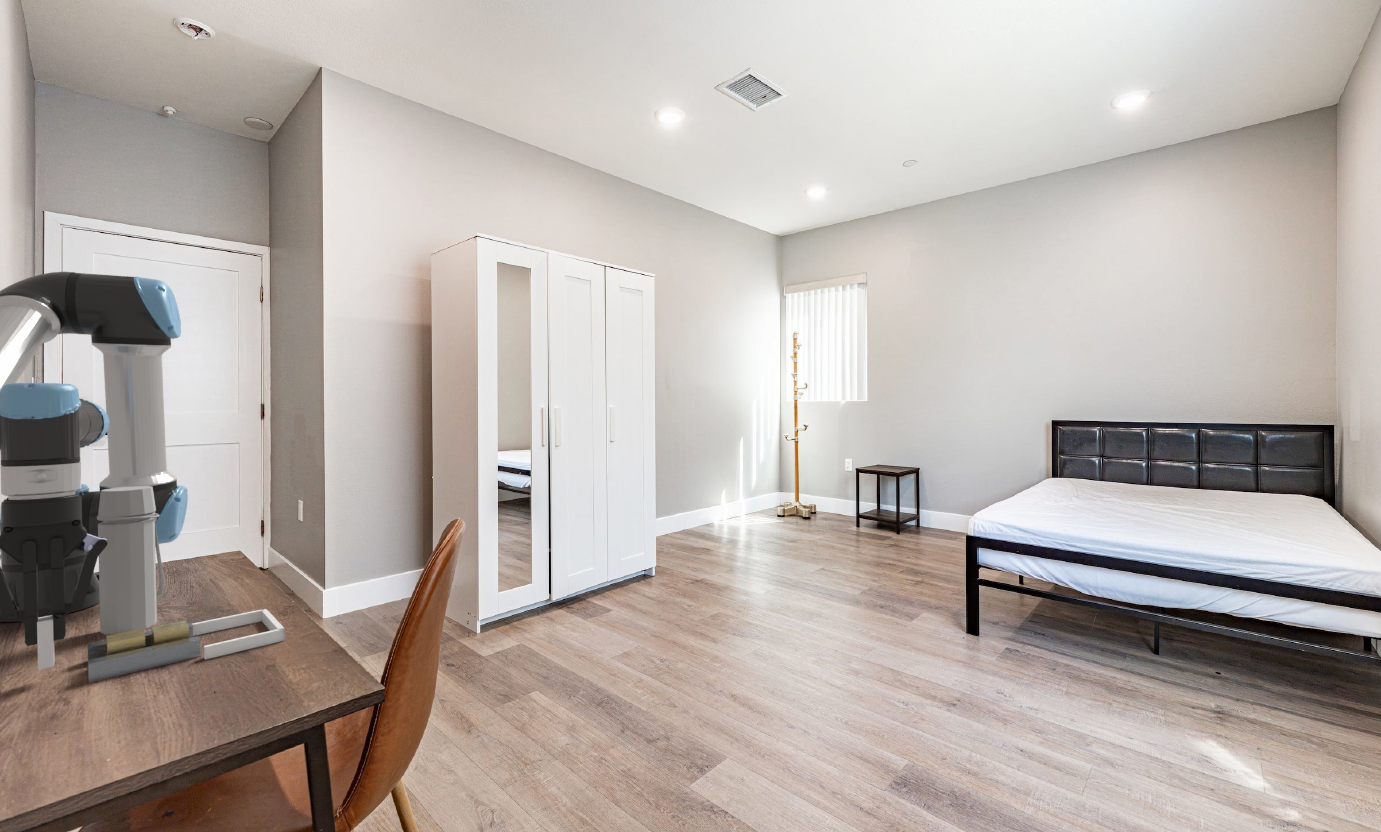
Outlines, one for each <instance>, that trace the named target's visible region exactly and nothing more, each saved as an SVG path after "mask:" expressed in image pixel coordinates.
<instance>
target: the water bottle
mask: <svg viewBox="0 0 1381 832" xmlns="http://www.w3.org/2000/svg"><path fill="white" fill-rule="evenodd" d="M155 511H156V506H155V500H154V493H153V487H151V486H133V487H119V488H110V489H104V490H101V494H100V503H99V512H98V516H97V520H101V521H103V522H101V523H99V524H98V537H99V538H101V537H104V538H106V539H107V542H108V544H107V546H106V547H105V549H104V550H103V551H102V552H101V553H100V555H99V556H98V581H99V592H100V602H99V623H100V625H99V627H100V628H99V629H100V631H99V632H100V633H101V634H103V635H106V636H108V635H113V634H118V633H123V632H128V631H133V630H138V629H143V630H144V629H147V628H149V627H153V626H155V625H156V623H157V622H158V613H157V612H158V607H157V603H158V602H157V598H159V597H162V596H163V595H164V590H165V577H164V571H163V569H164V568H163V562H162V558H161V550H160V544H159V543H158V536H157V530H156V523H155V522H156V520H157V517H159V514H158V513H155ZM156 562H157V564H156ZM156 566H157V568H158V573H159V574H158V575H159V591H158V594H157V568H156Z"/></svg>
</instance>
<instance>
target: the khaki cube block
mask: <svg viewBox="0 0 1381 832" xmlns="http://www.w3.org/2000/svg"><path fill="white" fill-rule="evenodd" d="M188 624H189V623H188V622H187V620H185V619H183V620H179V621H174V622H169V623H165V624H159V625H152V626H151V631H152V646H155V645H160V644H164V643H169V642H173V641H178V640H183V639H187V638H189V626H188Z"/></svg>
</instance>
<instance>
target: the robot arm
mask: <svg viewBox="0 0 1381 832" xmlns="http://www.w3.org/2000/svg"><path fill="white" fill-rule="evenodd" d="M180 316H181V315H180V310H179V306H178V303H177V300H176V297H175V295H174V292H173V290H172V288H171V287H170V286H169V285H168V284H167V283H166V282H164V281H163V280H160V279H153V278H148V277H147V278H146V277H140V276H128V275H127V276H125V275H113V274H111V275H110V274H99V273H98V274H97V273H85V272H82V273H81V272H75V271H53V272H48V273H47V272H46V273H42V274H37V275H34V276H33V275H32V276H31V277H27V278H25V279H22V280H19V281H17V282H14V283H13V284H11V285H8V286H7V287H4V288H2V289H1V290H0V494H1V495H2V496H5V497H7V498H5V499H4V500H3V501H1V504H0V561H1V563H0V564H1V565H0V623H10V622H12V623H13V622H21V623H23V624H24V643H25V645H26V647H31V646H33V645H34V646H35V645H37V671H38V670H40V671H41V670H43V669H44V670H45V669H50V668H54V667H55V641H56V642H57V641H60V640H64V639H65V637H66V635H67V632H66V630H67V629H66V617H67V615H68V614H69V613H73V612H77V611H81V610H84V609H88V608H90V607H92V606H95V605H98V604H100V592H99V578H98V577H97V575H96V573H95V567H96V564H97V563H98V562H97V561H98V559H99V555H100V553H101V552H102V551H103V550H104V549H105V547H106V546H107V544H108V542H107V539H106V538H104V537H101V538H99V537H98V524H99V523H101V522H103V521H101V520H97V516H98V512H99V503H100V494H101V490H104V489H110V488H119V487H133V486H151V487H153V493H154V500H155V506H156V511H155V513H158V514H159V517H157V520H156V522H155V523H156V530H157V536H158V543H159V545H161V544H169V543H172V542H174V541H175V540H177V538H179V536H180V534H181V533H182V530H183V526H184V523H185V520H186V515H187V509H188V502H189V501H188V500H189V496H188V488H187V487H186V486H183V485H178V481H177V478H178V477H177V476H175V475H174V474H172V473H171V472H170V471H168V469H167V452H166V451H167V450H166V449H167V447H166V427H165V426H166V424H165V401H164V398H165V397H164V382H163V381H164V377H163V354H164V353H165V352H167V351H168V350H169V349H170V348H172V340H174V339H178V338H180V337H181V334H182V322H181V321H182V320H181V317H180ZM66 334H74V335H75V334H77V335H89V336H90V339H91V345H92V346H93V347H95V348H96V349H97V350H98V351H100V352H101V354H102V356H103V375H104V376H103V377H104V378H103V379H104V391H105V392H104V394H105V395H104V397H105V410H104V409H103V408H102V407H101V406H100V405H98V404H97V403H95V402H92V401H89V400H87V399H86V400H85V399H84V398H80V394H79V393H80V392H79V389H78V388H79V387H77V386H75V385H74V384H70V383H58V382H57V383H56V382H55V383H54V382H48V383H47V382H42V383H41V382H18V381H19V379H20V378H21V376H22V374H23V373H24V371H25V370H26V368H27V367H28V366H29V364H30V362H31V361H32V359H33V358H34V356H35V355H36V353H37V352H38V350H39V349H40V348H41V346H42V344H44V343H48V342H50V341H52V340H54V339H55V338H56V337H57V336H58V335H66ZM106 434H107V435H106ZM104 436H107V449H108V450H107V451H108V468H109V469H108V470H109V473H108V475H107V477H104V478H103V480H102V481H100V482H99V485H98V486H99V490H98V491H97V490H96V491H95V490H93V491H90V487H88V485H87V484H82V462H81V449H82V448H85V447H86V446H87V447H88V446H90V445H92V444H94V443H97V442H99V441H100V440H101V439H103V437H104Z"/></svg>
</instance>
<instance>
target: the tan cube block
mask: <svg viewBox="0 0 1381 832" xmlns="http://www.w3.org/2000/svg"><path fill="white" fill-rule="evenodd" d="M144 632H145V631H144V629H138V630H133V631H128V632H123V633H118V634H107V635H106V640H107V656H109V655H113V654H118V653H123V652H127V651H132V650H136V649H141V648H145V633H144Z"/></svg>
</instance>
